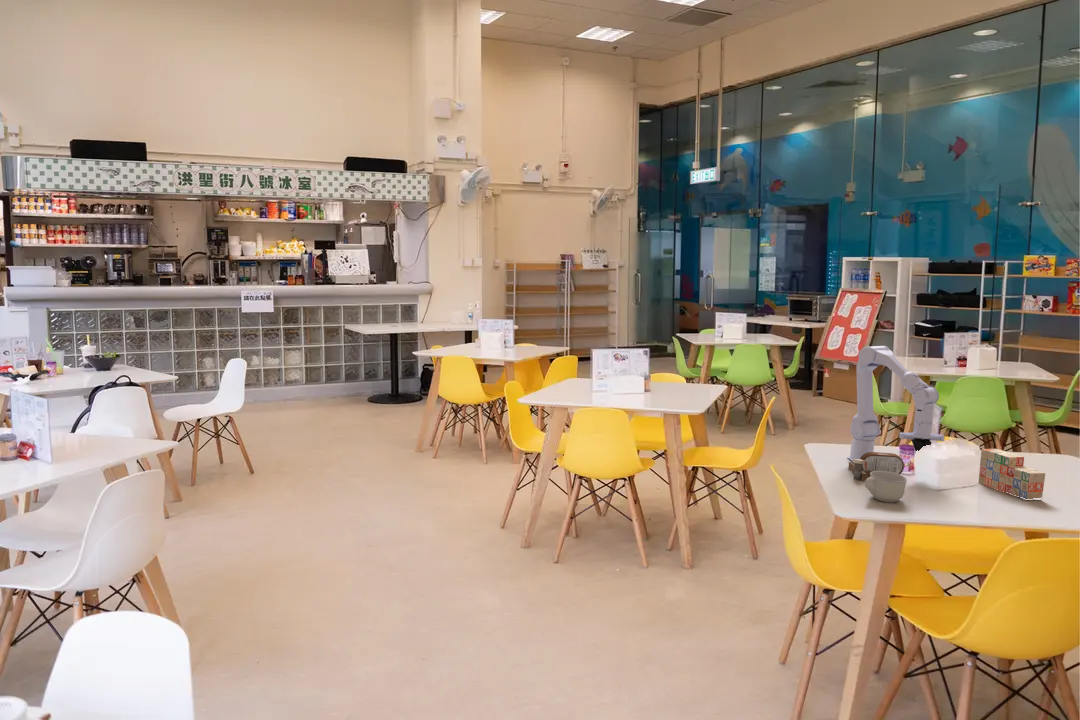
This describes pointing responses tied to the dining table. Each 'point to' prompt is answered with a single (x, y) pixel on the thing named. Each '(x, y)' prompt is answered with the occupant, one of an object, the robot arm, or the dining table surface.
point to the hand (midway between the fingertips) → (919, 460)
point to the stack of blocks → (1010, 474)
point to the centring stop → (859, 470)
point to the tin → (882, 462)
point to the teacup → (886, 485)
